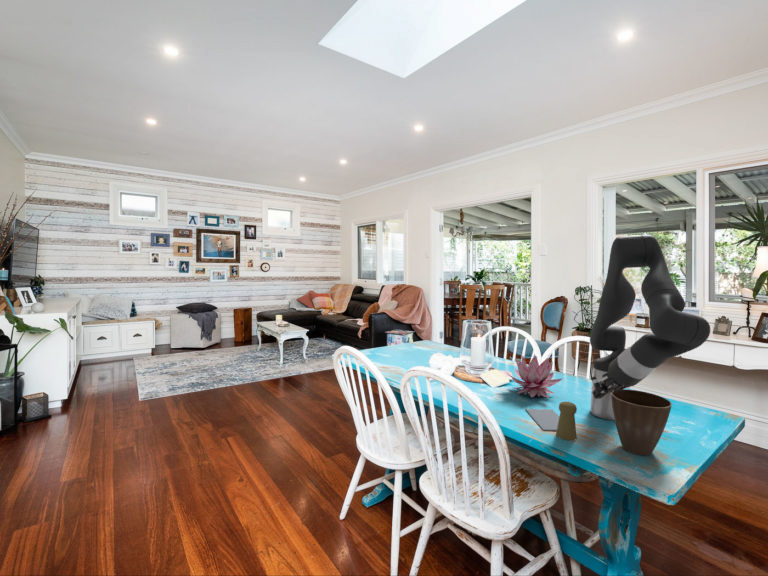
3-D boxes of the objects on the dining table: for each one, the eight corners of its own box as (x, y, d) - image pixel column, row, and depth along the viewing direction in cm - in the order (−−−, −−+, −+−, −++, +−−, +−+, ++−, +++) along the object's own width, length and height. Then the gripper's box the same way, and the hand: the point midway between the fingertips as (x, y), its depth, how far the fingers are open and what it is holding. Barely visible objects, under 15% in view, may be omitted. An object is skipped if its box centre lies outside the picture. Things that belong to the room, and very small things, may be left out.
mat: (525, 409, 142) (525, 408, 142) (552, 410, 142) (552, 409, 142) (543, 430, 125) (543, 429, 125) (573, 431, 125) (573, 430, 125)
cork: (574, 433, 123) (576, 400, 123) (578, 441, 118) (580, 407, 117) (554, 430, 125) (556, 398, 124) (557, 439, 119) (559, 405, 118)
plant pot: (643, 437, 121) (646, 389, 120) (681, 462, 106) (685, 407, 105) (598, 437, 120) (600, 389, 119) (629, 462, 105) (633, 407, 104)
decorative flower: (497, 394, 159) (498, 359, 158) (518, 382, 175) (519, 350, 174) (550, 407, 145) (551, 369, 144) (567, 393, 161) (568, 359, 160)
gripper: (647, 351, 99) (609, 382, 112) (603, 353, 97) (569, 384, 110) (664, 377, 94) (622, 406, 107) (618, 379, 92) (581, 409, 105)
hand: (595, 395), depth 108 cm, fingers closed
